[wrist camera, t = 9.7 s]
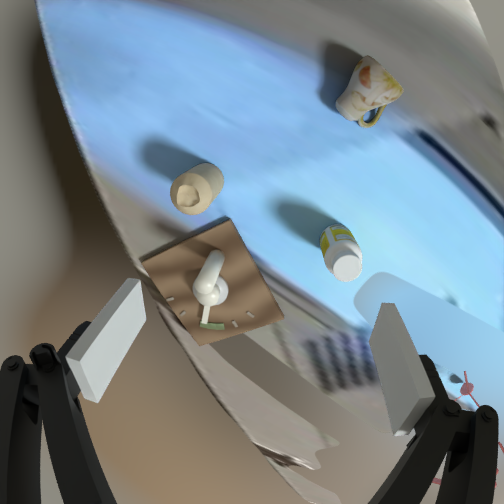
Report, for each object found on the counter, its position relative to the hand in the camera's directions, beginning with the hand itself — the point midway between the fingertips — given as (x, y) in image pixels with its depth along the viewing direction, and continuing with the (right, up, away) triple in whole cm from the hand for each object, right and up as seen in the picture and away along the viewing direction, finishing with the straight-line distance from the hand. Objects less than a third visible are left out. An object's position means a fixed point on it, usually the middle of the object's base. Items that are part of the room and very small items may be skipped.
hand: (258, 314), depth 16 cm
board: (-7, -3, +37) cm, 38 cm away
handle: (-7, -3, +36) cm, 37 cm away
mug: (+16, +26, +22) cm, 37 cm away
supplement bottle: (+13, +5, +32) cm, 34 cm away
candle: (-7, +14, +30) cm, 34 cm away
